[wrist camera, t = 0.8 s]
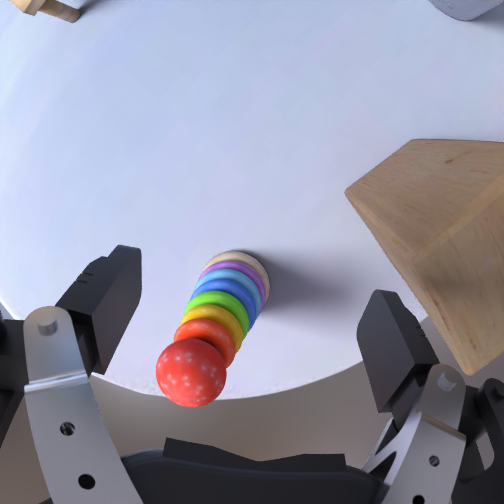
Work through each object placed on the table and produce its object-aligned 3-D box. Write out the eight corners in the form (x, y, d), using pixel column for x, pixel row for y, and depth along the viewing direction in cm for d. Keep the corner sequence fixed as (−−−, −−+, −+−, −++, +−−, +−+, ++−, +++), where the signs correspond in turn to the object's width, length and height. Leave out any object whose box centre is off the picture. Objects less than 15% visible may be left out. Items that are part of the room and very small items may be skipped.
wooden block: (412, 137, 28) (541, 142, 9) (456, 212, 30) (575, 284, 11) (341, 191, 31) (406, 259, 12) (391, 262, 33) (468, 381, 14)
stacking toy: (269, 248, 34) (242, 357, 17) (271, 312, 37) (250, 440, 19) (199, 249, 35) (118, 345, 18) (206, 310, 38) (148, 426, 20)
